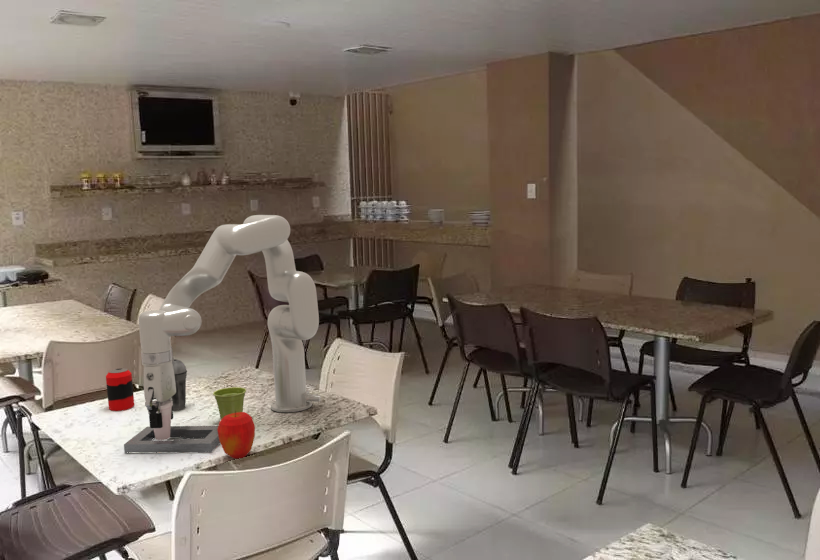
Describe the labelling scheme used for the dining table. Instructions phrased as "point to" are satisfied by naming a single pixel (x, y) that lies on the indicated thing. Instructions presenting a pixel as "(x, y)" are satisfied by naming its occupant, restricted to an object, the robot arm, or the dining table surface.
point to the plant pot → (229, 400)
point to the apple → (236, 434)
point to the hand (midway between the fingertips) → (161, 422)
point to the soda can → (120, 389)
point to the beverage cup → (179, 384)
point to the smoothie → (164, 421)
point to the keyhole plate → (176, 440)
